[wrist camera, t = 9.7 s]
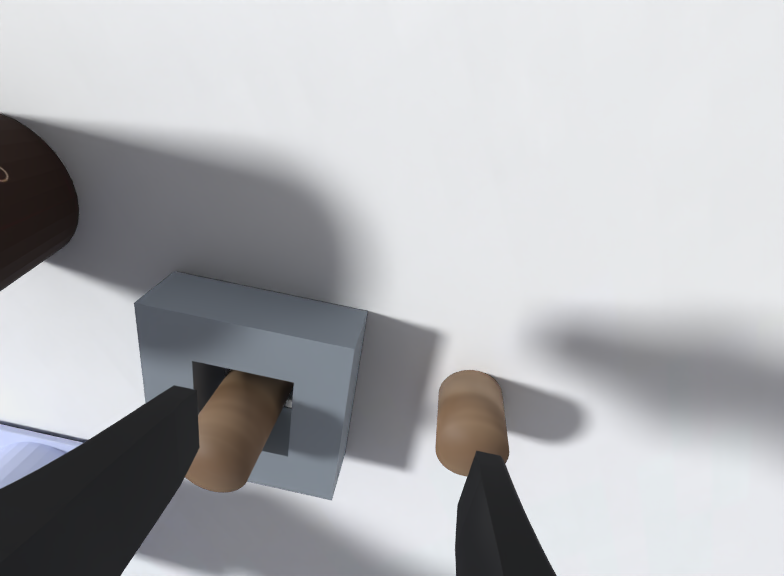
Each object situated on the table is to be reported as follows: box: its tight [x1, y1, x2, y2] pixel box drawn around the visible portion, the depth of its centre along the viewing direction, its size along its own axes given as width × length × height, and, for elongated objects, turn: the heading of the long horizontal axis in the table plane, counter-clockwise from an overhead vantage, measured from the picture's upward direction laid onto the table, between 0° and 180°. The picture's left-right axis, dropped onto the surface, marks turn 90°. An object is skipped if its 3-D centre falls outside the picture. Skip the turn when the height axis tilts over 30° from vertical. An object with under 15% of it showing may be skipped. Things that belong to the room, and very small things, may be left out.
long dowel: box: [185, 369, 294, 492], centre depth 21 cm, size 3×3×6 cm
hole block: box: [134, 271, 368, 500], centre depth 22 cm, size 9×9×3 cm
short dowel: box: [436, 370, 509, 476], centre depth 21 cm, size 3×3×4 cm
